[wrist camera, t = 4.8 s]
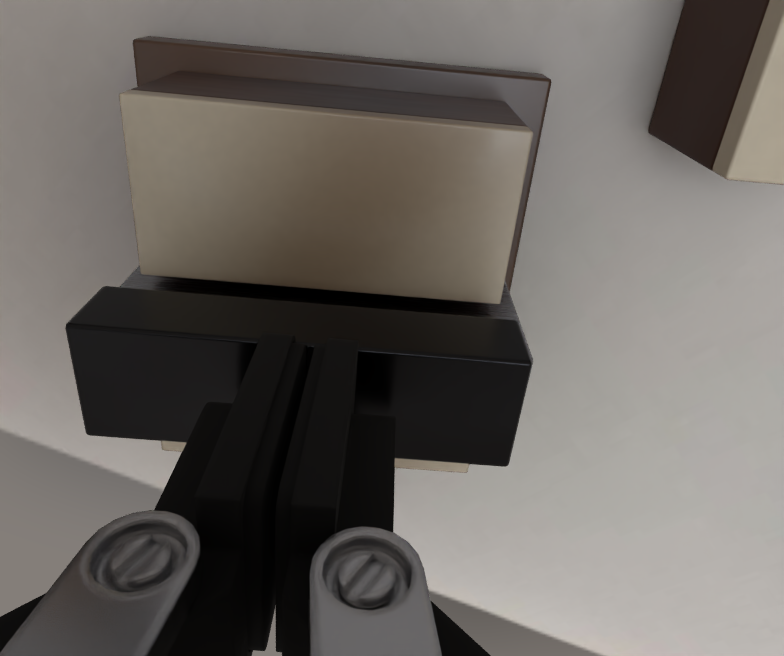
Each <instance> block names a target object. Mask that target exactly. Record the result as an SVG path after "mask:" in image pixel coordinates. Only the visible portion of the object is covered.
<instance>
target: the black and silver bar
mask: <svg viewBox="0 0 784 656" xmlns="http://www.w3.org/2000/svg"><path fill="white" fill-rule="evenodd" d="M66 333H67V338H68V343H69V348H70V354H71V359H72V364H73V369H74V374H75V379H76V384H77V389H78V395H79V400H80V405H81V410H82V415H83V420H84V425H85V430H86V433H87V434H88V435H92V436H106V437H119V438H132V439H146V440H159V441H172V442H186V443H187V441H188V439H189V437H190V435H191V433H192V430H193V428H194V426H195V424H196V422H197V420H198V418H199V416H200V414H201V412H202V410H203V408H204V406H205V405H206V403H208V402H220V403H232V404H233V402H234V400H235V397H236V395H237V392H238V390H239V388H240V385H241V383H242V380H243V378H244V376H245V373H246V371H247V368H248V366H249V363H250V361H251V359H252V356H253V354H254V351H255V349H256V347H257V344H258V342H259V339H260V337H261V335H262V333H276V334H287V335H294V336H295V341H296V343H298V344H306V378H307V374H308V370H309V367H310V363H311V359H312V355H313V351H314V347H315V345H321V346H326V344H327V340H328V338H335V339H346V340H358V341H359V344H358V360H357V374H356V388H355V402H354V414H366V415H379V416H391V417H395V418H396V429H395V458H398V459H411V460H425V461H438V462H451V463H465V464H478V465H491V466H508V464H509V461H510V457H511V453H512V448H513V444H514V440H515V435H516V431H517V427H518V423H519V418H520V414H521V410H522V406H523V401H524V397H525V393H526V388H527V384H528V380H529V377H530V373H531V369H532V364H533V358H532V355H531V352H530V349H529V347H528V344H527V341H526V338H525V335H524V332H523V330H522V327H521V324H520V321H519V318H518V315H517V313H516V310H515V307H514V304H513V301H512V298H511V296H510V293H509V290H508V287H507V284H506V281H505V282H504V287H503V292H502V298H501V302H500V304H490V303H478V302H466V301H454V300H442V299H430V298H418V297H406V296H394V295H382V294H370V293H358V292H346V291H334V290H322V289H310V288H298V287H286V286H275V285H263V284H251V283H239V282H227V281H215V280H203V279H191V278H179V277H167V276H155V275H143V274H141V272H140V265H139V266H138V267H137V269H136V270H135V271H134V272H133V273H132V274H131V275H130V276H129V277H128V278H127V279H126V280H125V282H124V283H123V284H122V285H121V286H120V287H110V286H105V287H102V288H101V289H100V290H99V291H98V292H97V293H96V294H95V295H94V296H93V297H92V298H91V299H90V300H89V301H88V302H87V303H86V304H85V305H84V306H83V307H82V308H81V310H80V311H79V312H78V313H77V314H76V315H75V316H74V317H73V318H72V319H71V320H70V321H69V322H68V323H67V324H66Z"/></svg>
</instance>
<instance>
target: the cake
mask: <svg viewBox="0 0 784 656" xmlns="http://www.w3.org/2000/svg"><path fill="white" fill-rule="evenodd" d="M133 49H134V58H135V68H136V77H137V86H138V87H136V88H133V89H131V90H127V91H124V92H122V93H120V94H119V99H120V107H121V115H122V123H123V132H124V140H125V148H126V156H127V165H128V173H129V181H130V189H131V198H132V206H133V214H134V222H135V231H136V239H137V247H138V255H139V264H140V272H141V274H143V275H155V276H167V277H179V278H191V279H203V280H215V281H227V282H239V283H251V284H263V285H275V286H286V287H298V288H310V289H322V290H334V291H346V292H358V293H370V294H382V295H394V296H406V297H418V298H430V299H442V300H454V301H466V302H478V303H490V304H500V302H501V298H502V292H503V287H504V282H505V281H506V284H507V287H508V290H509V292H510V287H511V282H512V277H513V272H514V267H515V262H516V257H517V252H518V247H519V242H520V237H521V232H522V227H523V222H524V217H525V212H526V207H527V202H528V197H529V192H530V187H531V182H532V177H533V172H534V167H535V162H536V157H537V152H538V147H539V142H540V137H541V132H542V127H543V122H544V117H545V112H546V107H547V102H548V97H549V92H550V87H551V79H549V78H547V77H546V76H544V75H543V74H538V73H527V72H517V71H506V70H496V69H485V68H475V67H464V66H454V65H444V64H433V63H423V62H412V61H402V60H391V59H381V58H371V57H360V56H350V55H339V54H329V53H318V52H308V51H297V50H287V49H277V48H266V47H256V46H245V45H235V44H224V43H214V42H204V41H193V40H183V39H172V38H162V37H151V36H147V37H143V38H138V39H134V40H133ZM161 444H162V449H163V450H167V451H180V452H182V451H183V449H184V447H185V445H186V442H172V441H161ZM395 468H407V469H421V470H434V471H448V472H461V473H467V472H468V468H469V464H465V463H451V462H438V461H425V460H411V459H398V458H395Z"/></svg>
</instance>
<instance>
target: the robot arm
mask: <svg viewBox="0 0 784 656" xmlns="http://www.w3.org/2000/svg"><path fill="white" fill-rule="evenodd" d="M358 344H359V341H358V340H346V339H335V338H328V340H327V344H326V346H321V345H315V347H314V351H313V355H312V359H311V363H310V367H309V370H308V374H307V378H306V344H298V343H296V341H295V336H294V335H287V334H276V333H262V335H261V337H260V339H259V342H258V344H257V347H256V349H255V351H254V354H253V356H252V359H251V361H250V363H249V366H248V368H247V371H246V373H245V376H244V378H243V380H242V383H241V385H240V388H239V390H238V392H237V395H236V397H235V400H234V402H233V404H232V403H220V402H208V403H206V405H205V406H204V408H203V410H202V412H201V414H200V416H199V418H198V420H197V422H196V424H195V426H194V428H193V430H192V433H191V435H190V437H189V439H188V441H187V443H186V445H185V447H184V449H183V451H182V453H181V455H180V458H179V460H178V462H177V464H176V466H175V468H174V470H173V472H172V474H171V476H170V478H169V480H168V483H167V485H166V487H165V489H164V491H163V493H162V495H161V497H160V499H159V501H158V503H157V505H156V508H155V510H149V511H142V512H136V513H131V514H129V515H126V516H123V517H120V518H118V519H115V520H113V521H112V522H110V523H108V524H107V525H105V526H104V527H102V528H100V529H99V530H98V531H97V532H96V533H95V534H94V535H93V536H92V537H91V538H90V539H89V540H88V541H87V542H86V543H85V544H84V545H83V547H82V548H81V549H80V551H79V552H78V553H77V555H76V556H75V557H74V558H73V560H72V561H71V562H70V564H69V565H68V566H67V568H66V569H65V570H64V571H63V572H62V574H61V575H60V577H59V578H58V579H57V580H56V581H55V583H54V584H53V585H52V587H51V588H50V589H49V590H48V592H47V593H46V594H44V595H42V596H40V597H38V598H36V599H34V600H32V601H30V602H28V603H26V604H24V605H22V606H20V607H18V608H16V609H15V610H13V611H11V612H9V613H7V614H5V615H3V616H1V617H0V656H252V651H253V650H258V651H265V649H266V647H267V643H268V638H269V633H270V628H271V624H272V619H273V614H274V609H275V605H276V651H277V652H282V656H490V655H489V654H488V653H487V652H486V651H485V650H484V649H483V648H482V647H481V646H480V645H478V644H477V643H476V642H475V641H474V640H473V639H472V638H471V637H470V636H469V635H468V634H466V633H465V632H464V631H463V630H462V629H461V628H460V627H459V626H458V625H457V624H455V623H454V622H453V621H452V620H451V619H450V618H449V617H448V616H447V615H446V614H445V613H443V612H442V611H441V610H440V609H439V608H438V607H437V606H436V605H435V604H434V603H433V602H432V601H431V600H430V597H429V591H428V586H427V581H426V577H425V572H424V567H423V565H422V562H421V560H420V557H419V555H418V553H417V552H416V551H415V550H414V548H413V547H412V546H411V545H410V544H409V543H408V542H407V541H406V540H404V539H403V538H401V537H400V536H398V535H397V534H395V533H393V517H394V473H395V429H396V418H395V417H391V416H379V415H366V414H354V402H355V388H356V374H357V360H358Z"/></svg>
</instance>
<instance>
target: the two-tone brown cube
mask: <svg viewBox="0 0 784 656" xmlns="http://www.w3.org/2000/svg"><path fill="white" fill-rule="evenodd" d="M649 133H650V134H652V135H653V136H655V137H657V138H658V139H660V140H662V141H663V142H665V143H667V144H668V145H670V146H672V147H673V148H675V149H677V150H678V151H680V152H682V153H683V154H685V155H687V156H688V157H690V158H692V159H693V160H695V161H697V162H698V163H700V164H702V165H703V166H705V167H707V168H708V169H710V170H712V171H714V172H715V173H717V174H719V175H720V176H722V177H724V178H725V179H727V180H736V181H747V182H758V183H769V184H780V185H784V0H686V1H685V4H684V8H683V11H682V15H681V18H680V22H679V25H678V29H677V33H676V36H675V40H674V43H673V47H672V50H671V54H670V57H669V61H668V64H667V68H666V72H665V75H664V79H663V82H662V86H661V89H660V93H659V96H658V100H657V104H656V107H655V111H654V114H653V118H652V121H651V125H650V128H649Z"/></svg>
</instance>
